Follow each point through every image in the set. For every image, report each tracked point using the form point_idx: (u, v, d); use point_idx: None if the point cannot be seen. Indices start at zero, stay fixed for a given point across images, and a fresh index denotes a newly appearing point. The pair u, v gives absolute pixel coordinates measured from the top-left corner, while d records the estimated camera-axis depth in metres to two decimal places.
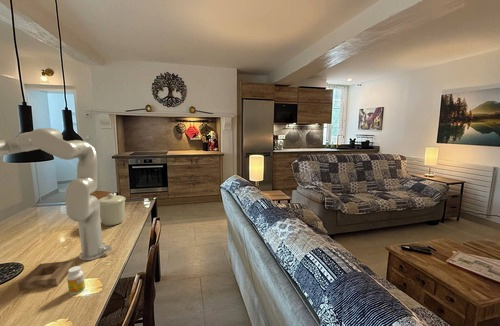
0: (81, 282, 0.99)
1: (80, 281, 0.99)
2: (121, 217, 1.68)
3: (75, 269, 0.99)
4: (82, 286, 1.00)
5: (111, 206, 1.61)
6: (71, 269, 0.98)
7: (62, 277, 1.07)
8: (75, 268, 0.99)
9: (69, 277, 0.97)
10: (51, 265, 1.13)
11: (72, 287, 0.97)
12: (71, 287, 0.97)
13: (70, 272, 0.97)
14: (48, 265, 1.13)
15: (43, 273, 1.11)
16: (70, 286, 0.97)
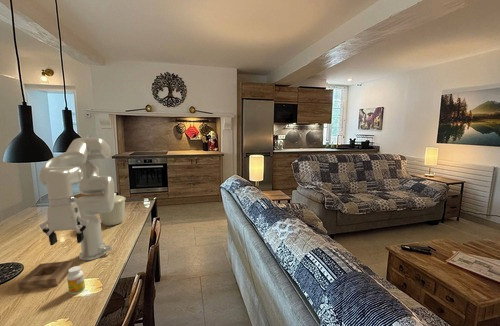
0: (81, 282, 0.99)
1: (80, 281, 0.99)
2: (121, 217, 1.68)
3: (75, 269, 0.99)
4: (82, 286, 1.00)
5: None
6: (71, 269, 0.98)
7: (62, 277, 1.07)
8: (75, 268, 0.99)
9: (69, 277, 0.97)
10: (51, 265, 1.13)
11: (72, 287, 0.97)
12: (71, 287, 0.97)
13: (70, 272, 0.97)
14: (48, 265, 1.13)
15: (43, 273, 1.11)
16: (70, 286, 0.97)
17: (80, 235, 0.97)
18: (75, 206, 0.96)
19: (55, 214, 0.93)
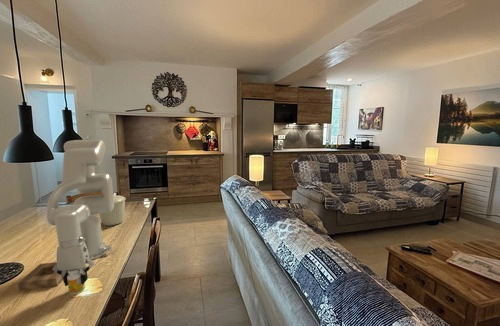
0: None
1: (80, 281, 0.99)
2: (121, 217, 1.68)
3: (75, 269, 0.99)
4: (82, 286, 1.00)
5: None
6: None
7: (62, 277, 1.07)
8: None
9: (69, 277, 0.97)
10: (51, 265, 1.13)
11: (72, 287, 0.97)
12: (71, 287, 0.97)
13: (70, 272, 0.97)
14: (48, 265, 1.13)
15: (43, 273, 1.11)
16: (70, 286, 0.97)
17: (84, 276, 1.00)
18: (84, 246, 0.99)
19: (64, 255, 0.95)
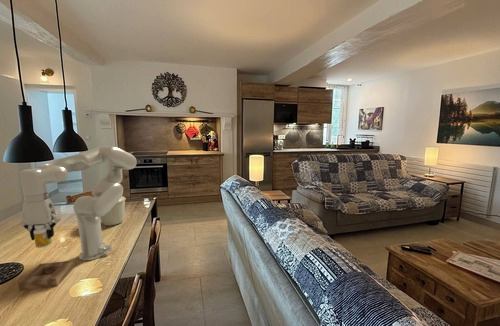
0: (47, 237, 1.05)
1: (46, 236, 1.05)
2: (121, 217, 1.68)
3: (41, 224, 1.05)
4: (48, 241, 1.06)
5: None
6: (37, 224, 1.04)
7: (62, 277, 1.07)
8: None
9: (35, 231, 1.03)
10: (51, 265, 1.13)
11: (38, 241, 1.04)
12: (37, 240, 1.03)
13: (36, 226, 1.03)
14: (48, 265, 1.13)
15: (43, 273, 1.11)
16: (36, 240, 1.04)
17: (50, 231, 1.06)
18: (49, 202, 1.05)
19: (30, 209, 1.01)
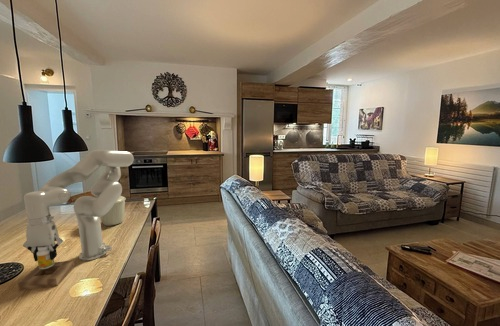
0: (49, 258, 1.07)
1: (49, 257, 1.07)
2: (121, 217, 1.68)
3: (44, 246, 1.06)
4: (51, 262, 1.08)
5: None
6: (40, 246, 1.06)
7: (62, 277, 1.07)
8: None
9: (38, 253, 1.05)
10: None
11: (41, 262, 1.05)
12: (40, 262, 1.05)
13: (39, 248, 1.05)
14: None
15: (43, 273, 1.11)
16: (39, 261, 1.05)
17: (53, 252, 1.07)
18: (52, 224, 1.06)
19: (33, 232, 1.03)
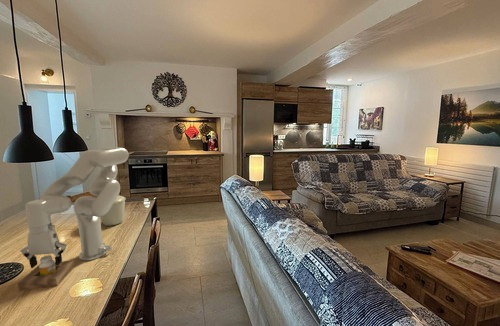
0: (52, 270, 1.08)
1: (51, 269, 1.08)
2: (121, 217, 1.68)
3: (46, 258, 1.07)
4: None
5: (111, 206, 1.61)
6: (43, 258, 1.07)
7: (62, 277, 1.07)
8: (47, 257, 1.08)
9: (40, 265, 1.06)
10: None
11: (43, 274, 1.06)
12: (42, 274, 1.06)
13: (41, 260, 1.06)
14: None
15: None
16: (41, 273, 1.06)
17: (58, 258, 1.08)
18: (53, 232, 1.07)
19: (35, 240, 1.04)
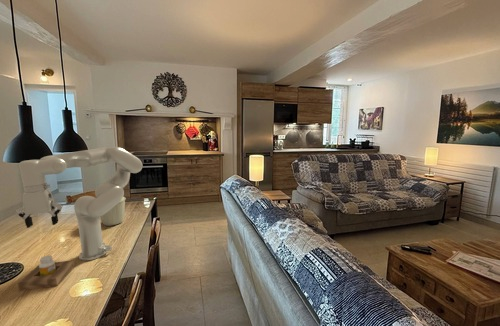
0: (52, 270, 1.08)
1: (51, 269, 1.08)
2: (121, 217, 1.68)
3: (46, 258, 1.07)
4: None
5: None
6: (43, 258, 1.07)
7: (62, 277, 1.07)
8: (47, 257, 1.08)
9: (40, 265, 1.06)
10: None
11: (43, 274, 1.06)
12: (42, 274, 1.06)
13: (41, 260, 1.06)
14: None
15: None
16: (41, 273, 1.06)
17: (55, 218, 1.09)
18: (49, 192, 1.08)
19: (30, 199, 1.04)
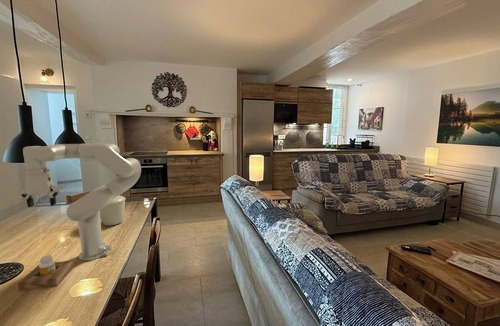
0: (52, 270, 1.08)
1: (51, 269, 1.08)
2: (121, 217, 1.68)
3: (46, 258, 1.07)
4: None
5: (111, 206, 1.61)
6: (43, 258, 1.07)
7: (62, 277, 1.07)
8: (46, 257, 1.08)
9: (40, 265, 1.06)
10: None
11: (43, 274, 1.06)
12: (42, 274, 1.06)
13: (41, 260, 1.06)
14: None
15: None
16: (41, 273, 1.06)
17: (53, 199, 1.20)
18: (48, 176, 1.19)
19: (31, 181, 1.16)
